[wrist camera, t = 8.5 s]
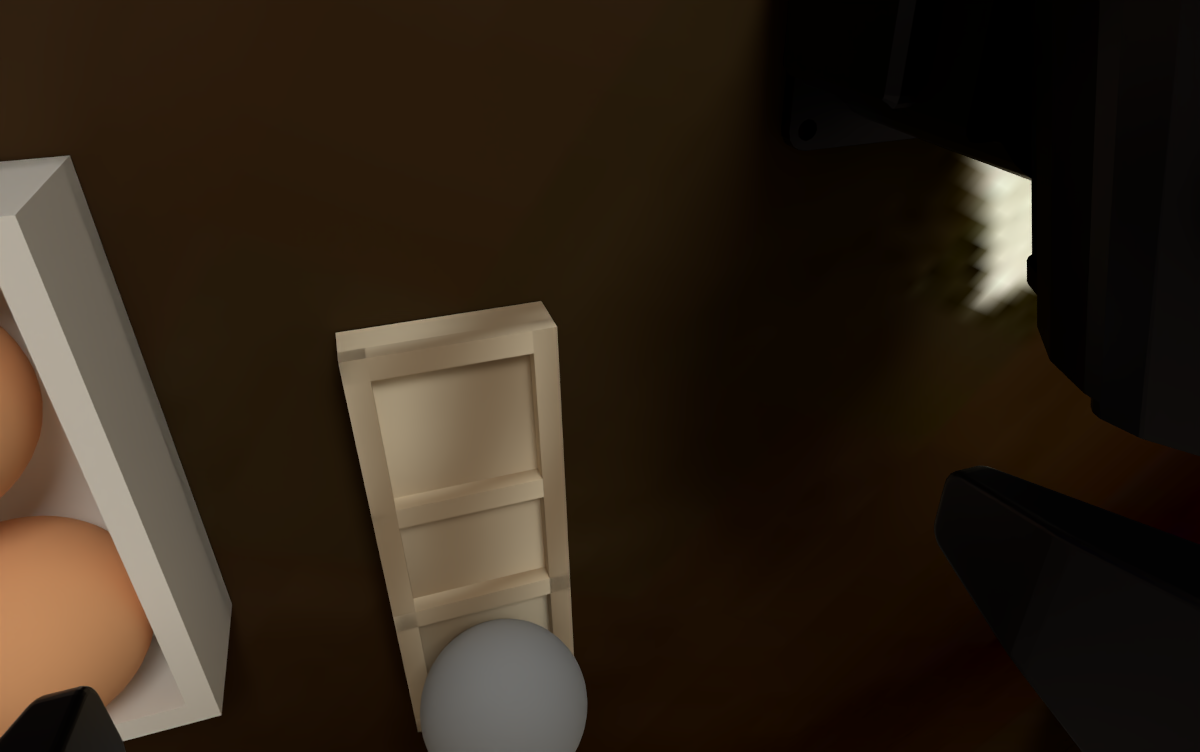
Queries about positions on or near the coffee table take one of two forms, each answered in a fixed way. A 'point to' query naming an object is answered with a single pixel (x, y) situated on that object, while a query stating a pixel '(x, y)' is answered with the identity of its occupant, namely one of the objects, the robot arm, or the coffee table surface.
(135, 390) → the ceramic trough
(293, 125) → the coffee table surface
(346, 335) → the frame
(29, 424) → the terracotta ball
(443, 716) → the ball slate grey
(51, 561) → the terracotta ball
